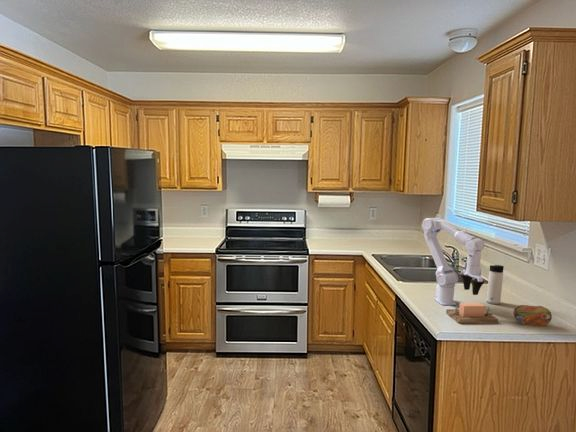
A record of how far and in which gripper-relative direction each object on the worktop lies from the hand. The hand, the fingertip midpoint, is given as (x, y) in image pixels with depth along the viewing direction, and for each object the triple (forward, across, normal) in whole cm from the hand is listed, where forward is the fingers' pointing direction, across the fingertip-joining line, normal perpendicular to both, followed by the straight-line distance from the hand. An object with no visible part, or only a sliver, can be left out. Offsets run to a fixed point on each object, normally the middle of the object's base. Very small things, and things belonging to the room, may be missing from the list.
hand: (470, 292), depth 194 cm
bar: (+9, +9, -4) cm, 13 cm away
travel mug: (+10, -11, +19) cm, 24 cm away
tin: (+10, +16, +20) cm, 27 cm away
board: (+9, +9, -4) cm, 14 cm away
